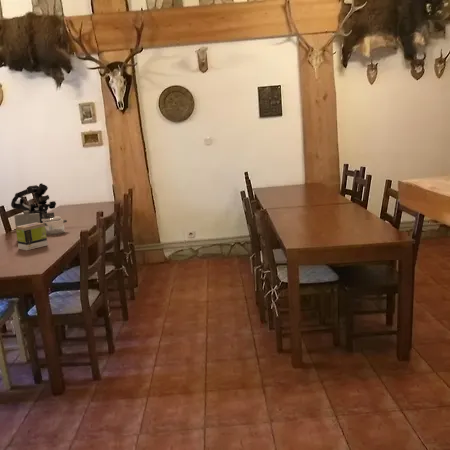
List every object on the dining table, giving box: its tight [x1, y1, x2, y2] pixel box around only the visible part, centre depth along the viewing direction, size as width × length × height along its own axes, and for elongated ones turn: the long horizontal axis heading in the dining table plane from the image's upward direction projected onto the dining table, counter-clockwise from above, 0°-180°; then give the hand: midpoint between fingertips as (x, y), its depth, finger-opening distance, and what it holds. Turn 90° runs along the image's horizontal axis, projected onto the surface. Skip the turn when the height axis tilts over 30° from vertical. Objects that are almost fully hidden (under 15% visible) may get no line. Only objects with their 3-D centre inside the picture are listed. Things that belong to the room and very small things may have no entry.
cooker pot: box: [43, 218, 68, 236], centre depth 376 cm, size 13×18×9 cm
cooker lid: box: [41, 212, 62, 222], centre depth 379 cm, size 14×14×4 cm
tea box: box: [15, 222, 49, 251], centre depth 332 cm, size 15×10×15 cm, turn 141°
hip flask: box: [13, 210, 40, 242], centre depth 356 cm, size 16×4×20 cm, turn 104°
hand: (46, 214), depth 387 cm, fingers closed
